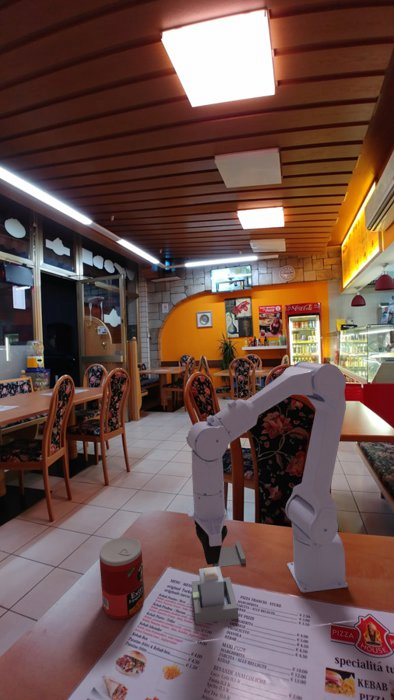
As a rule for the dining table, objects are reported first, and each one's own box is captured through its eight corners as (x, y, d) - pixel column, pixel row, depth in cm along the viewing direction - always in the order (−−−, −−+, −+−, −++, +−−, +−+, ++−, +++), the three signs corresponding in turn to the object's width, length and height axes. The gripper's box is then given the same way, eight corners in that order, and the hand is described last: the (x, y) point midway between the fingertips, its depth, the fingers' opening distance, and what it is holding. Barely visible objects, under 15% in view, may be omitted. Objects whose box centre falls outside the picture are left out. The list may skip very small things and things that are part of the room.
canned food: (136, 623, 60) (132, 564, 60) (95, 618, 62) (91, 560, 61) (150, 590, 68) (147, 538, 67) (113, 586, 70) (110, 535, 69)
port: (230, 587, 68) (229, 575, 68) (238, 619, 60) (237, 606, 60) (191, 592, 67) (191, 580, 67) (195, 625, 59) (194, 611, 59)
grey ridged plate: (239, 546, 81) (239, 540, 80) (245, 564, 74) (245, 558, 74) (210, 549, 80) (210, 543, 80) (214, 568, 74) (214, 562, 73)
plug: (221, 596, 66) (219, 563, 65) (225, 612, 62) (223, 578, 61) (200, 598, 65) (198, 565, 65) (203, 615, 61) (201, 580, 61)
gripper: (184, 473, 69) (187, 538, 70) (189, 511, 55) (193, 591, 56) (218, 470, 70) (221, 534, 71) (232, 506, 55) (236, 586, 56)
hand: (211, 559), depth 63 cm, fingers closed
